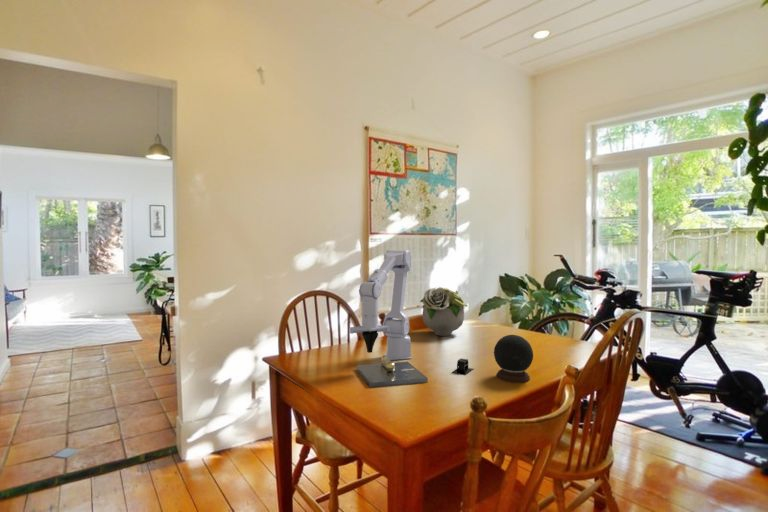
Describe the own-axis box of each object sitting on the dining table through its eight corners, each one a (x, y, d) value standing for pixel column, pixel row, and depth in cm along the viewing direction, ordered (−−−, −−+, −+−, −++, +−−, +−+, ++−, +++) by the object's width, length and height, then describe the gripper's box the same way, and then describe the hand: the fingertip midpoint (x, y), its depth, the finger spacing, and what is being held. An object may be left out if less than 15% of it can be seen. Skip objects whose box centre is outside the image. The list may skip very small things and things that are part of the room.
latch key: (395, 371, 146) (395, 364, 146) (387, 371, 145) (387, 364, 145) (387, 362, 156) (387, 356, 156) (379, 363, 155) (379, 356, 155)
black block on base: (465, 378, 146) (466, 365, 146) (446, 375, 150) (446, 362, 150) (477, 369, 157) (477, 357, 157) (459, 366, 161) (459, 354, 160)
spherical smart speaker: (539, 383, 140) (540, 339, 140) (501, 384, 139) (502, 339, 139) (523, 371, 153) (524, 331, 153) (488, 372, 152) (489, 331, 152)
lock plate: (407, 365, 160) (407, 361, 160) (427, 382, 140) (427, 377, 140) (356, 369, 154) (356, 365, 154) (370, 387, 135) (370, 382, 135)
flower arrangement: (417, 338, 204) (417, 289, 204) (421, 328, 229) (421, 284, 228) (468, 341, 200) (469, 290, 200) (466, 330, 225) (467, 285, 224)
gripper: (352, 317, 145) (352, 356, 146) (392, 315, 149) (391, 353, 150) (348, 314, 152) (348, 351, 152) (386, 312, 156) (386, 348, 156)
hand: (369, 352), depth 151 cm, fingers closed
